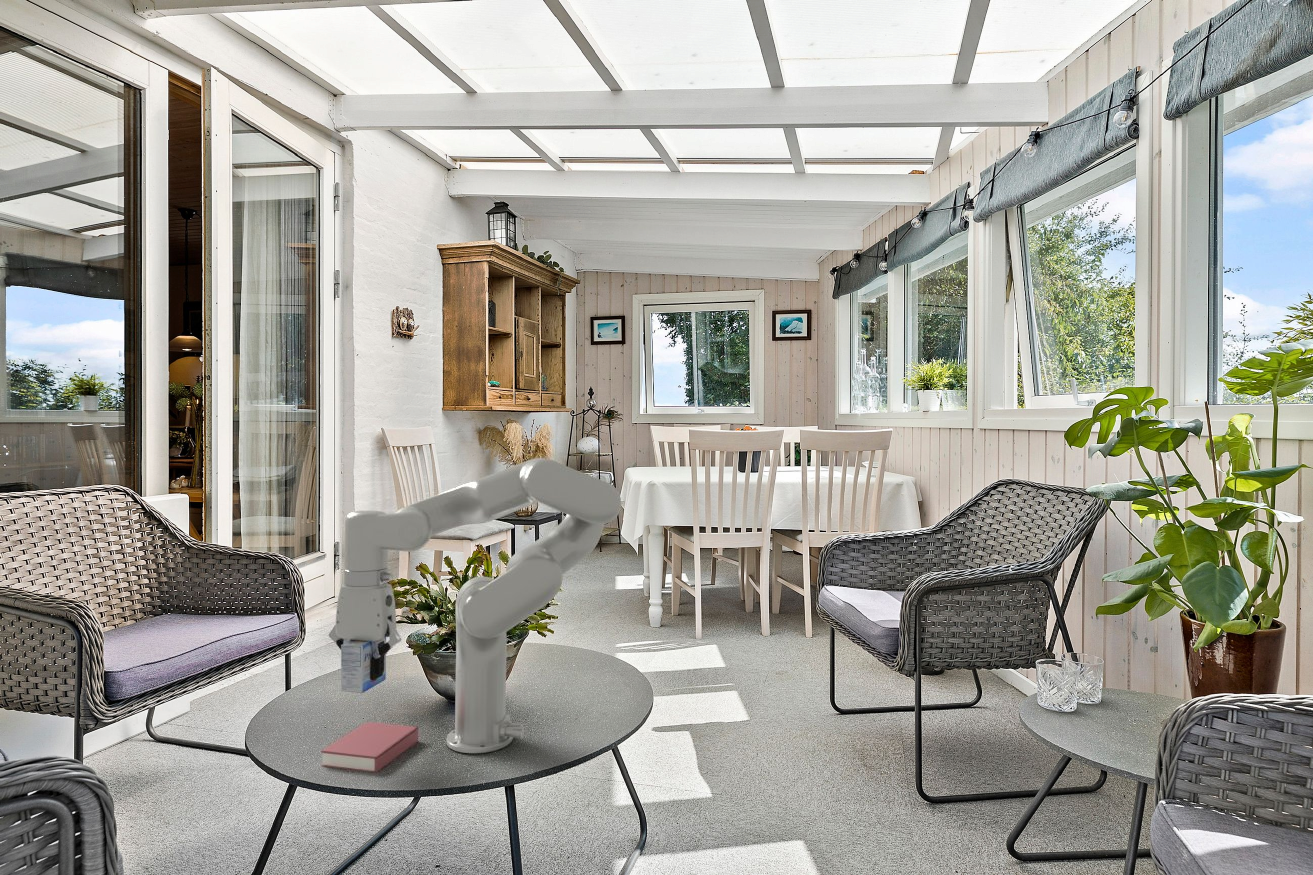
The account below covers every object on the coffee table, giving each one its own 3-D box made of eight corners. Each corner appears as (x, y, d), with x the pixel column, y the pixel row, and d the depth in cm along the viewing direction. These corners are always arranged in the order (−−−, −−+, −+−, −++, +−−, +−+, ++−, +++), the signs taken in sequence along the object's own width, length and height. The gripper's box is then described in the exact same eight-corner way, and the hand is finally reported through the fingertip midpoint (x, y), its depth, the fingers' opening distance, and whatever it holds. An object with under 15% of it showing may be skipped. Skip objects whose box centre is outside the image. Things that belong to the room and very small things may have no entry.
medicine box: (362, 694, 135) (362, 645, 135) (339, 691, 136) (340, 643, 136) (386, 680, 142) (387, 634, 142) (365, 678, 143) (366, 632, 143)
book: (418, 742, 145) (418, 727, 145) (376, 773, 132) (376, 756, 132) (367, 736, 148) (367, 721, 148) (321, 767, 134) (321, 750, 134)
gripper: (418, 577, 141) (416, 674, 141) (338, 571, 144) (336, 666, 144) (396, 584, 134) (394, 687, 134) (312, 578, 137) (310, 679, 137)
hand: (364, 675), depth 139 cm, fingers closed on medicine box, 4 cm apart
